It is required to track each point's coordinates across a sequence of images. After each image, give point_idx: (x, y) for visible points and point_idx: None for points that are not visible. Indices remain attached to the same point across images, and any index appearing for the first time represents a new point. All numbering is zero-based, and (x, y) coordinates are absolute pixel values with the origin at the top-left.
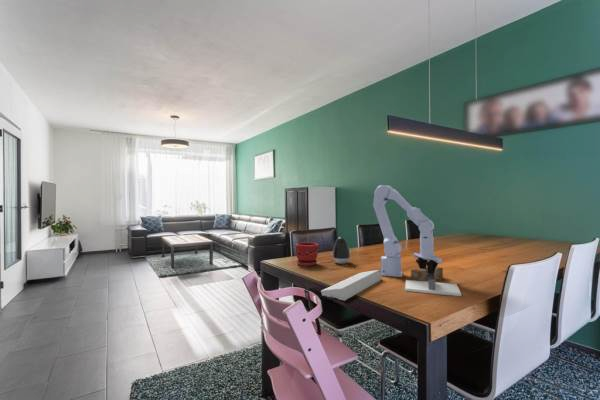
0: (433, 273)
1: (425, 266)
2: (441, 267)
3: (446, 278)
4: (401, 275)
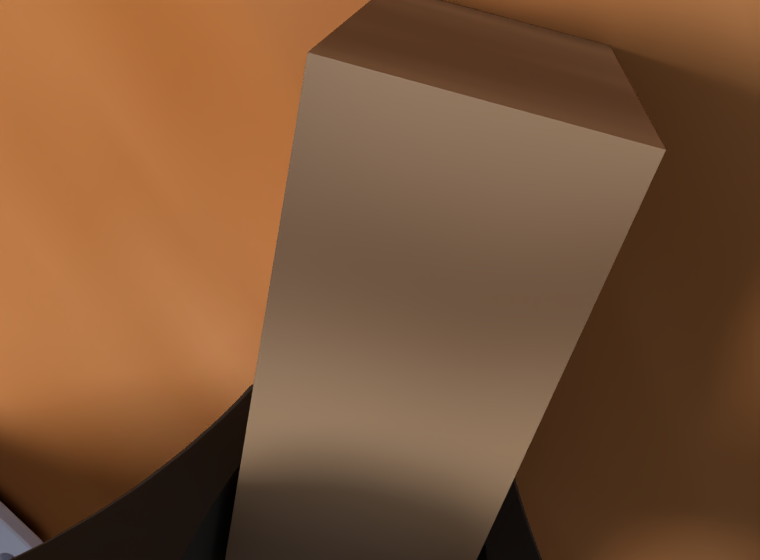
0: (519, 521)
1: (199, 542)
2: (596, 136)
3: (717, 14)
4: (6, 531)
